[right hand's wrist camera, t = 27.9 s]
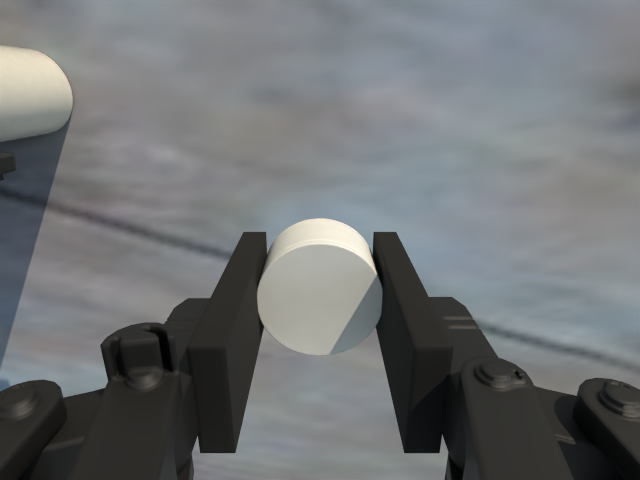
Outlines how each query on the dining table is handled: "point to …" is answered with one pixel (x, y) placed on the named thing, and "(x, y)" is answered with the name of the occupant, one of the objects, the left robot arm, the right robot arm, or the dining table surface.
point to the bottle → (31, 94)
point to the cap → (319, 288)
